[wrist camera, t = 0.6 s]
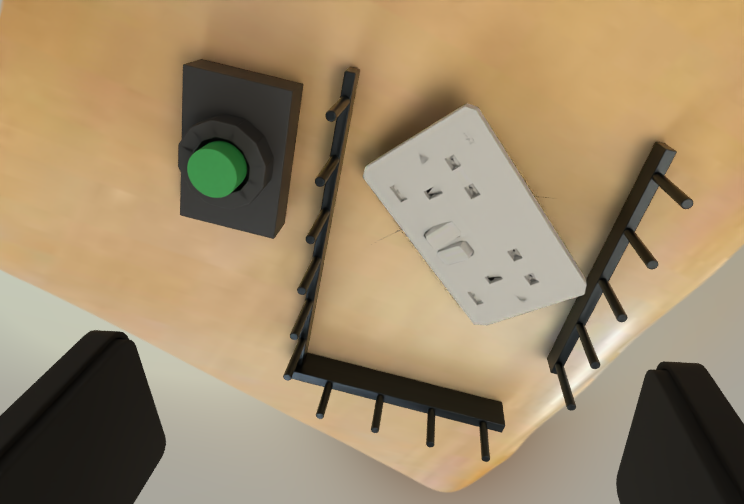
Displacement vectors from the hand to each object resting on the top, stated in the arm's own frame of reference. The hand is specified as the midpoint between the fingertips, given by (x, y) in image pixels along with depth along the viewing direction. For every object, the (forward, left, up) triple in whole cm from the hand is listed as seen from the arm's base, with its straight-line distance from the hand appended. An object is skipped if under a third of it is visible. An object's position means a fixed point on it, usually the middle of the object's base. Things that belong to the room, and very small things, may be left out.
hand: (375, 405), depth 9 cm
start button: (+7, -13, -26) cm, 31 cm away
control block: (+7, -13, -31) cm, 35 cm away
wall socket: (+9, +6, -31) cm, 33 cm away
